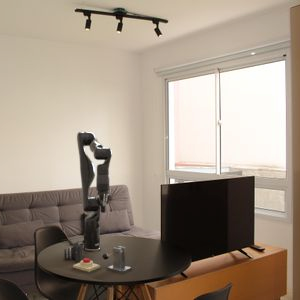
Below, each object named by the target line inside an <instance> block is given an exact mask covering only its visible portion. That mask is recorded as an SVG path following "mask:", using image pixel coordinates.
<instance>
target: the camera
mask: <svg viewBox="0 0 300 300" xmlns="http://www.w3.org/2000/svg"><path fill="white" fill-rule="evenodd" d="M82 241H83V240H77V241H76V242H74V243H73V245H72V246H71V247H65V248H64V253H63V255H64V259H65V260H69V261H70V260H75V261H76V262H81V261H82V260H83V250H84V244H83V242H82Z"/></svg>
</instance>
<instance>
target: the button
mask: <svg viewBox="0 0 300 300" xmlns="http://www.w3.org/2000/svg"><path fill="white" fill-rule="evenodd" d="M82 260H83V262H84V263H89V262H90V260H91V258H88V257H84V258H82Z"/></svg>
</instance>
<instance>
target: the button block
mask: <svg viewBox="0 0 300 300" xmlns="http://www.w3.org/2000/svg"><path fill="white" fill-rule="evenodd" d="M72 267H73V269H77V270H81V271H84V272H88V273H90V272H92V271H95V270H97V269H100V268H101V265H100V264H97V263H94V261H93V260H91V259H90V262H89V263H84V262H83V259H82V261H79V262H78V263H75V264H73V266H72Z"/></svg>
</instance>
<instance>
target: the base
mask: <svg viewBox="0 0 300 300" xmlns="http://www.w3.org/2000/svg"><path fill="white" fill-rule="evenodd" d="M119 248H122V251H123V252H122V253H121V249H119ZM112 253H113V255H112V265H110V266H107V267H106V269H109V270H113V271H115V272H116V271H117V272H119V273H120V272H121V273H124V272H126V271H129V270H131V269H132V267H131V266H127V265H126V247H125V246H121V245H117V246H116V247H112Z"/></svg>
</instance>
